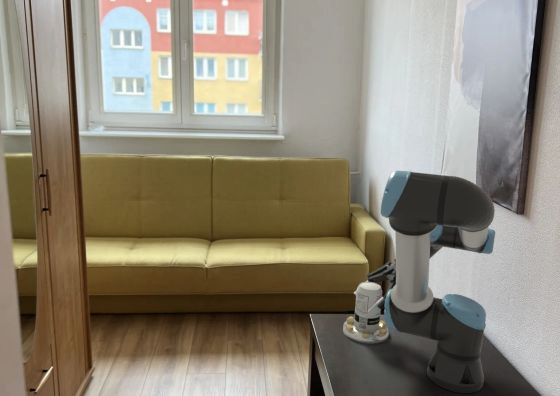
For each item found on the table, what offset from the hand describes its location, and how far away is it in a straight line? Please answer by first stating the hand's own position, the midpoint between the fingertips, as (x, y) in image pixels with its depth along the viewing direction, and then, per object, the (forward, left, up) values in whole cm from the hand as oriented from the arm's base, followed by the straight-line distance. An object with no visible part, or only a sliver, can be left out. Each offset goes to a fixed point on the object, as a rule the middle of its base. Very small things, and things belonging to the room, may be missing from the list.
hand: (362, 304), depth 159 cm
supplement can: (-1, -1, -9) cm, 9 cm away
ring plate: (-1, -1, -10) cm, 10 cm away
